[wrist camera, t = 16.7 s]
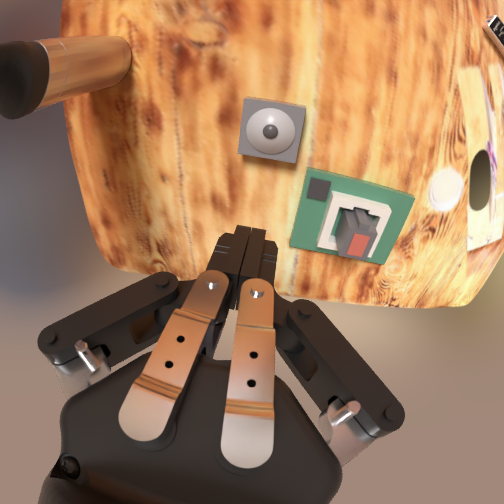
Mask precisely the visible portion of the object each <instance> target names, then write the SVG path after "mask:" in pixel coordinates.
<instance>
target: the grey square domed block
mask: <svg viewBox="0 0 504 504" xmlns="http://www.w3.org/2000/svg"><path fill="white" fill-rule="evenodd" d="M305 112H306V106H302V105H297V104H292V103H287V102H281V101H275V100H268V99H261V98H254V97H246V98H244V103H243V112H242V120H241V129H240V138H239V147H238V154H243V155H249V156H256V157H262V158H268V159H273V160H279V161H284V162H289V163H296V158H297V153H298V148H299V143H300V138H301V133H302V128H303V122H304V117H305Z"/></svg>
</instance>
